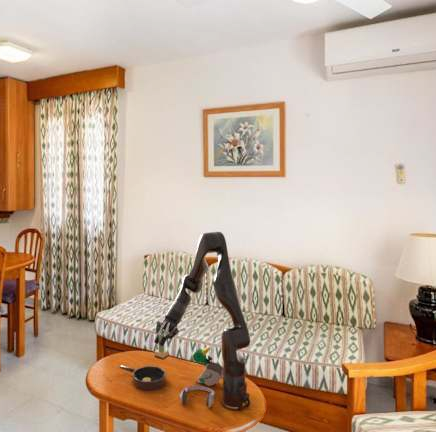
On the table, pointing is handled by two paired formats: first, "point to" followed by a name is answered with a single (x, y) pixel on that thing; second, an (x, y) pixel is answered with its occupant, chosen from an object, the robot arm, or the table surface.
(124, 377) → the table surface
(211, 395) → the headphones
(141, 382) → the pan
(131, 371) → the pan handle
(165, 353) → the green peg on base
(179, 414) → the table surface
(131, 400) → the table surface
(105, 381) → the table surface
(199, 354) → the toy
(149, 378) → the disc
